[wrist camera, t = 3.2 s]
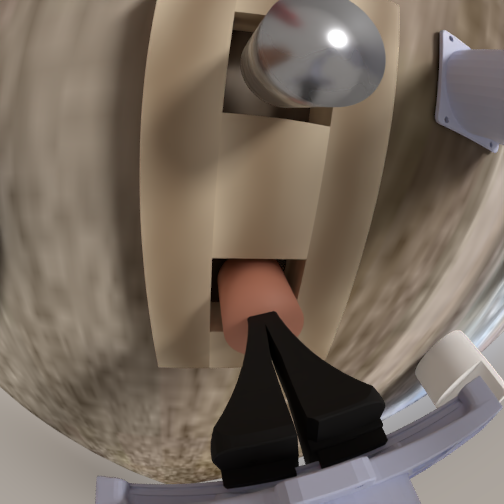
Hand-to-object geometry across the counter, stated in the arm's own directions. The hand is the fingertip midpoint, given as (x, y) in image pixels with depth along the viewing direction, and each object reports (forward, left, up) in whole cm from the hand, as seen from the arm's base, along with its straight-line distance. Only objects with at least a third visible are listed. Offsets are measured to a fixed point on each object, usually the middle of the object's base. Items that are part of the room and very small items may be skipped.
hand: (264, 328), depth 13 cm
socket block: (0, -6, -6) cm, 8 cm away
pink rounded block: (0, 0, -4) cm, 4 cm away
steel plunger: (0, -12, -2) cm, 12 cm away
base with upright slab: (-28, +14, -6) cm, 32 cm away
